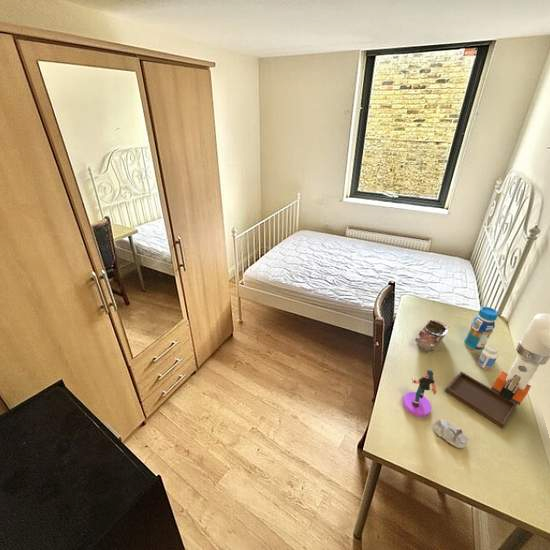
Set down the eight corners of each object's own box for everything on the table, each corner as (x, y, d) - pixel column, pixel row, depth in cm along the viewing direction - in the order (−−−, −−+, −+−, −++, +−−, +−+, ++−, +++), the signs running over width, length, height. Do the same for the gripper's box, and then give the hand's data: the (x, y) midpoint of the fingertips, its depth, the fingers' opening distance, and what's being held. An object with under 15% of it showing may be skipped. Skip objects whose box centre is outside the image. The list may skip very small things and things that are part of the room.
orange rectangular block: (523, 397, 94) (531, 385, 91) (519, 405, 92) (527, 393, 89) (495, 382, 100) (501, 370, 97) (490, 388, 97) (497, 377, 94)
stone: (468, 437, 98) (470, 433, 97) (462, 454, 93) (465, 449, 92) (437, 419, 104) (439, 415, 102) (431, 434, 99) (433, 429, 97)
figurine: (423, 395, 112) (437, 361, 103) (434, 417, 104) (450, 383, 95) (399, 394, 112) (410, 360, 104) (408, 416, 104) (421, 382, 95)
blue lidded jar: (462, 337, 142) (477, 303, 133) (482, 342, 139) (499, 308, 130) (464, 347, 136) (479, 313, 126) (485, 353, 133) (502, 318, 123)
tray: (515, 407, 108) (517, 404, 107) (502, 428, 101) (504, 425, 100) (459, 374, 122) (461, 371, 121) (444, 391, 114) (446, 388, 113)
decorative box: (455, 345, 137) (462, 329, 132) (434, 364, 126) (441, 347, 122) (428, 330, 146) (433, 315, 141) (406, 347, 135) (411, 331, 131)
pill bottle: (492, 365, 127) (501, 348, 122) (490, 372, 123) (499, 355, 118) (478, 358, 130) (486, 342, 125) (475, 365, 126) (483, 348, 122)
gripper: (541, 373, 79) (512, 416, 88) (555, 346, 89) (528, 386, 98) (509, 357, 84) (485, 399, 93) (525, 333, 94) (502, 373, 103)
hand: (507, 392), depth 95 cm, fingers closed on orange rectangular block, 4 cm apart
